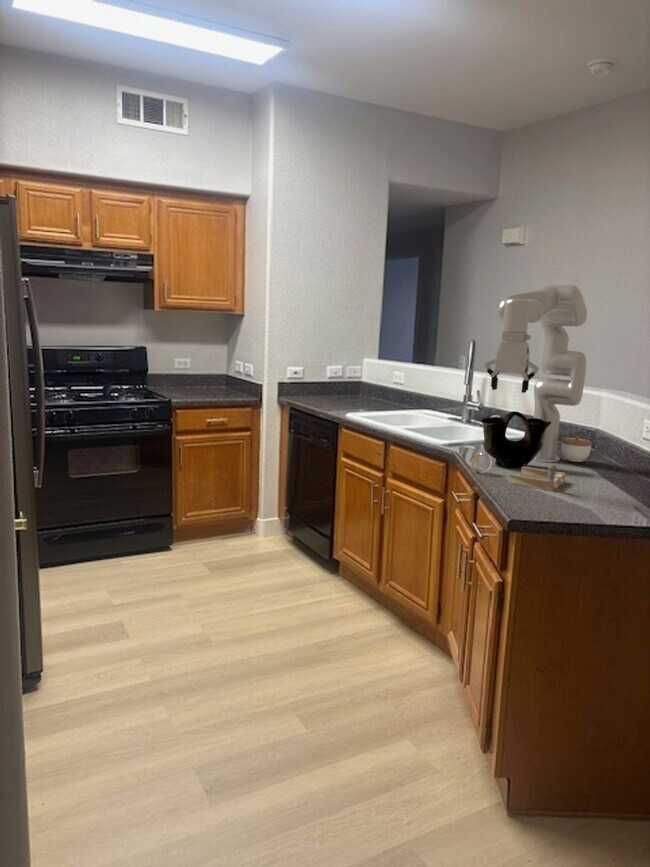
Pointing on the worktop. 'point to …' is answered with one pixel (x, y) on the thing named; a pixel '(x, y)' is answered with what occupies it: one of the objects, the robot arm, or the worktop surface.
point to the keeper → (538, 478)
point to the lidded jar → (576, 449)
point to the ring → (479, 456)
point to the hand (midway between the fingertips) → (508, 391)
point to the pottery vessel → (513, 450)
